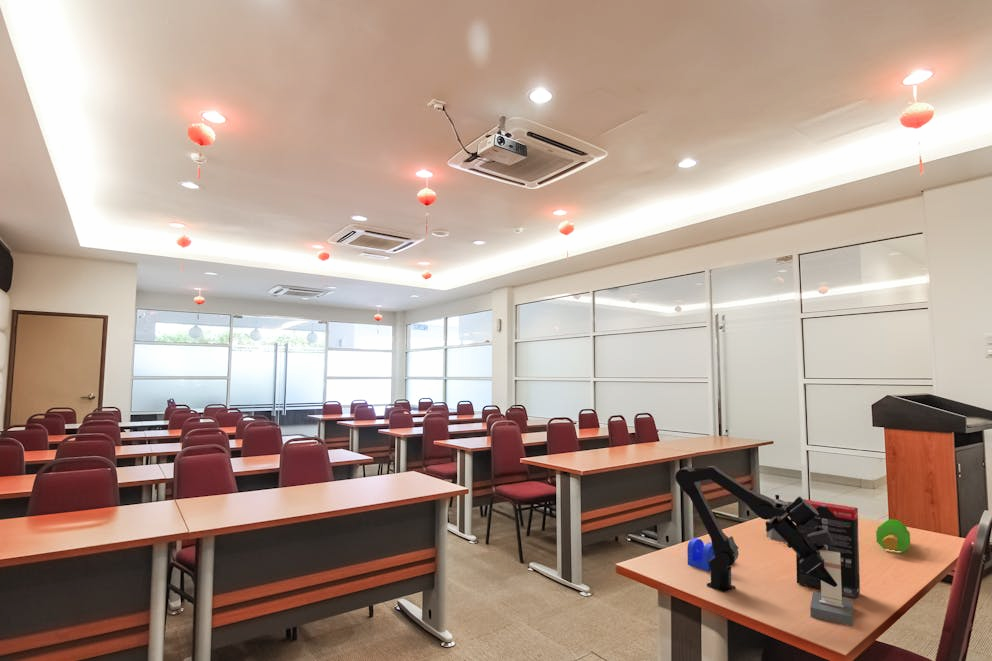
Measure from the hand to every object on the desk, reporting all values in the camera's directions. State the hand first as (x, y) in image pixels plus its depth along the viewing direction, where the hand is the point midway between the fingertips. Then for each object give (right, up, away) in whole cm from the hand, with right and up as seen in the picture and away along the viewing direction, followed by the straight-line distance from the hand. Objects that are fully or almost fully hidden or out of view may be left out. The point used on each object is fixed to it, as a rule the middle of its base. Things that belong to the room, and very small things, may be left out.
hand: (836, 581), depth 154 cm
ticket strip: (-1, -9, 0) cm, 9 cm away
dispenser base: (-1, -9, 0) cm, 9 cm away
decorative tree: (+64, -16, +61) cm, 90 cm away
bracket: (-20, -13, +39) cm, 46 cm away
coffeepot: (+23, -16, +72) cm, 77 cm away
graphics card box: (+8, -11, +17) cm, 22 cm away
